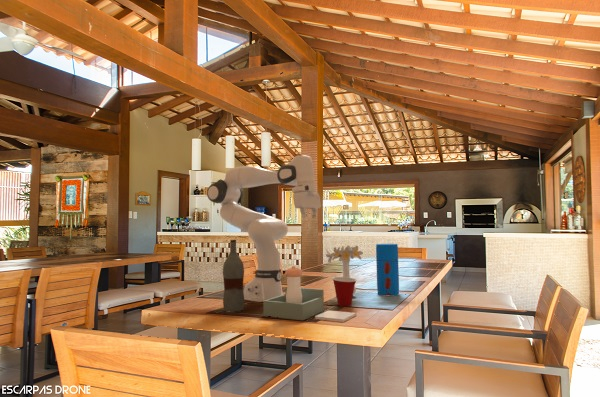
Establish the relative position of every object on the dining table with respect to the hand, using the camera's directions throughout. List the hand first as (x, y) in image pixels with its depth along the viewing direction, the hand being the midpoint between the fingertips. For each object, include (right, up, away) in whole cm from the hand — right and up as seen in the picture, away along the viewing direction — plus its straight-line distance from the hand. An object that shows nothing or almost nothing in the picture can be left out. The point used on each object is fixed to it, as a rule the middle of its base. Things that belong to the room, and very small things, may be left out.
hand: (309, 218), depth 200 cm
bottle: (-33, -39, -16) cm, 53 cm away
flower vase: (+18, -39, +12) cm, 45 cm away
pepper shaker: (-7, -38, -25) cm, 46 cm away
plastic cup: (+15, -38, -10) cm, 43 cm away
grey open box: (-7, -38, -25) cm, 46 cm away
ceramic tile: (+9, -37, -33) cm, 51 cm away
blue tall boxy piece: (+40, -39, +17) cm, 59 cm away
